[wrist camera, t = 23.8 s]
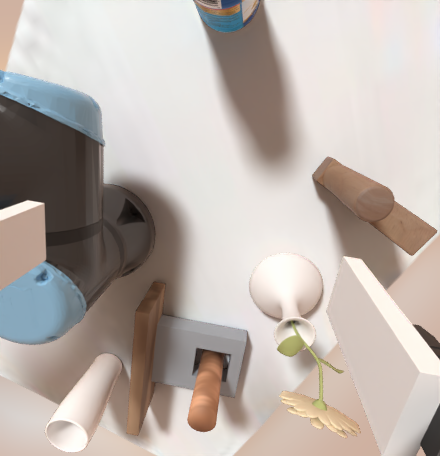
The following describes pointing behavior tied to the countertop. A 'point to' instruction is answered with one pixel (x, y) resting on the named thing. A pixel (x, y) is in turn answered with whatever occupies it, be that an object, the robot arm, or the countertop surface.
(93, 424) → the drinking glass
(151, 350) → the backstop board
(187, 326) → the holed block
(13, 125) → the robot arm
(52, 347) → the countertop surface
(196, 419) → the dowel
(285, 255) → the flower in vase
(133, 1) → the countertop surface
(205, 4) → the beverage bottle
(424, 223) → the wooden block
